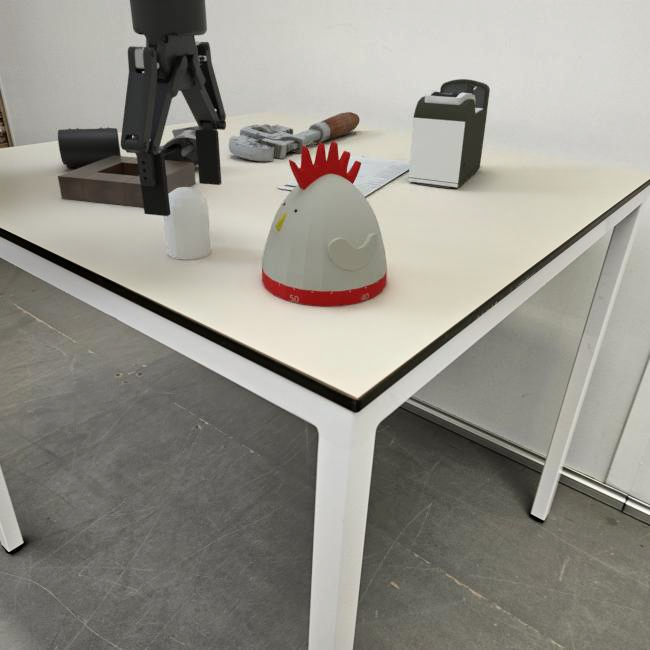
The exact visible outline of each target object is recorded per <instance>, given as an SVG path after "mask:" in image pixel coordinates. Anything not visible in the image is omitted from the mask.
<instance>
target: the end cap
mask: <svg viewBox="0 0 650 650" xmlns="http://www.w3.org/2000/svg"><path fill="white" fill-rule="evenodd" d="M118 132H119V131H118V128H116V127H109V126H107V127H104V128H103V127H99V128H78V127H77V128H70V127H69V128H66V129H58V130H57V142H58V143H57V144H58V150H59V155H60V159H61V162H62V164H63V165H64V166H66V168H67V169H71V168H72V169H73V168H74V169H75V168H76V169H77V168H81V167H84V166H86V165H89V164H92V163H94V162H97V161H100V160H103V159H105V158H108V157H111V156H113V155H114V156H122V154H121V148H120V147H121V145H120V139H119V133H118Z"/></svg>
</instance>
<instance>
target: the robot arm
mask: <svg viewBox="0 0 650 650" xmlns="http://www.w3.org/2000/svg"><path fill="white" fill-rule="evenodd" d="M129 7H130V15H131V24H132V29H133V32H134V33H135V34H137V35H142V36H144V37H145V46H132V45H131V46H128V48H127V63H128V75H127V76H128V77H127V85H126V94H125V101H124V102H125V103H124V111H123V119H122V126H121V135H120V147H121V148H120V149H122V150H123V151H125V152H126V153H127V154H135V156H136V157H137V162H138V170H139V175H140V176H139V178H140V183H141V190H142V198H143V206H144V207H143V214H144V215H150V216H151V215H153V216H162V217H164V216H168V215H170V204H169V195H168V186H167V176H166V167H165V158H164V153H158V151H159V147H160V146H161V143H162V139H163V136H164V132H165V128H166V124H167V120H168V116H169V112H170V110H171V109H170V108H171V104H172V101H173V99H174V98H175V97H176V96H178V94H179V92H181V95H182V96H183V98H184V100H185V102H186V104H187V107H188V108H189V110H190V112H191V114H192V116H193V118H194V120H195V122H196V124H197V126H199V128H202V130H195V135H196V147H197V159H198V166H197V170H198V182H199V184H202V185H211V186H212V185H214V186H221V185H222V171H221V169H222V168H221V153H220V139H219V131H218V130H220V131H225V130H226V128H227V121H226V119H227V116H226V110H225V107H224V103H223V100H222V96H221V93H220V88H219V84H218V81H217V77H216V73H215V70H214V66H213V62H212V53H211V46H210V42H208V41H196V38H195V36H204V35H205V34H206V33H207V32H208V31H207V30H208V24H207V6H206V0H129Z"/></svg>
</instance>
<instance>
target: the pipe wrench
mask: <svg viewBox="0 0 650 650" xmlns="http://www.w3.org/2000/svg"><path fill="white" fill-rule="evenodd" d="M360 121H361V120H360V116H359V115H358V114H357V113H354V112H352V111H346V112H340V113H338V114H335V115H333V116H330V117H328V118H326V119H324V120H322V121H318V122H315V123H313V124H311V125H310V126H309V127H308V129H307V130H304V131H302V132H299V133H296V134H294V128H292V127H287V126H284V125H281V124H275V125H274V124H273V125H271V124H268V123H267V124H266V123H264V124H252V125H247V126H243V127H242V128H240V130H239V135H237V136H236V135H232V136H230V137H229V139H228V145H227V146H228V150H229V152H230V153H231V154H233V155H234V156H236V157H238V158H239V157H240V158H242V159H245V160H250V161H256V162H272V161H274V158H276V159H280V160H282V159H285V158H286V156H287V153H289V152H293V153H297V154H300V155H301V150H302V146H305V147H307V145H308V144H310V143H314V144H319V142H320V143H323V142H324V141H328V140H332V139H335V138H339V137H341V136H344V135H347V134H349V133H352V132H353V131H354V130H356V128H357V127H358V126H359V124H360Z"/></svg>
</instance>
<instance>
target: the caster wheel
mask: <svg viewBox="0 0 650 650" xmlns="http://www.w3.org/2000/svg"><path fill="white" fill-rule="evenodd" d="M195 130H202V128H199V126H198V125H194V126H188V127H182V128H176V129H172V131H171V132H172V135H173V138H172V139H170V140H168V141H167V142H166V143H165V144H163V145H160V147H159V151H158V153H164V158H165V160H170V161H182V162H193V163H194V169H196V168H197V167H198V159H197V147H196V135H195Z"/></svg>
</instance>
